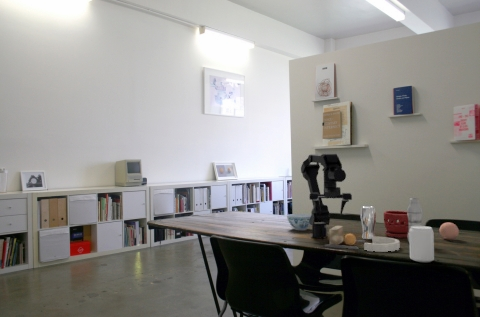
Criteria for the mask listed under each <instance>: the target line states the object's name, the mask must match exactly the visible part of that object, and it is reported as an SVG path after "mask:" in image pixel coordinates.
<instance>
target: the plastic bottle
mask: <svg viewBox="0 0 480 317" xmlns="http://www.w3.org/2000/svg"><path fill="white" fill-rule="evenodd" d="M406 212H407V215H408V222H409V223H408V224H409V226H408V235H407V237H406V238H407V241H408V242H409V230H410V228H411V226H422V218H423V209H422V207H421V205H420V201H419V198H418V197H414V198H413V197H410V198H409V205H408V207H407V209H406Z"/></svg>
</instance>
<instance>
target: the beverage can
mask: <svg viewBox="0 0 480 317" xmlns="http://www.w3.org/2000/svg"><path fill="white" fill-rule="evenodd" d="M434 236H435V234H434V230H433V227H431V226H424V225H421V226H411V228H410V230H409V241H408V243H409V258H410V260H412V261H415V262H419V263H431V262H433V261H434V260H435V238H434Z"/></svg>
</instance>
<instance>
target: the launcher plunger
mask: <svg viewBox="0 0 480 317" xmlns="http://www.w3.org/2000/svg"><path fill="white" fill-rule="evenodd" d="M328 232H329V233H328V234H329V236H328V238H329V244H332V245H341V244H342V243H343V239H344V225H335V226H332V228H329V229H328Z"/></svg>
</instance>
